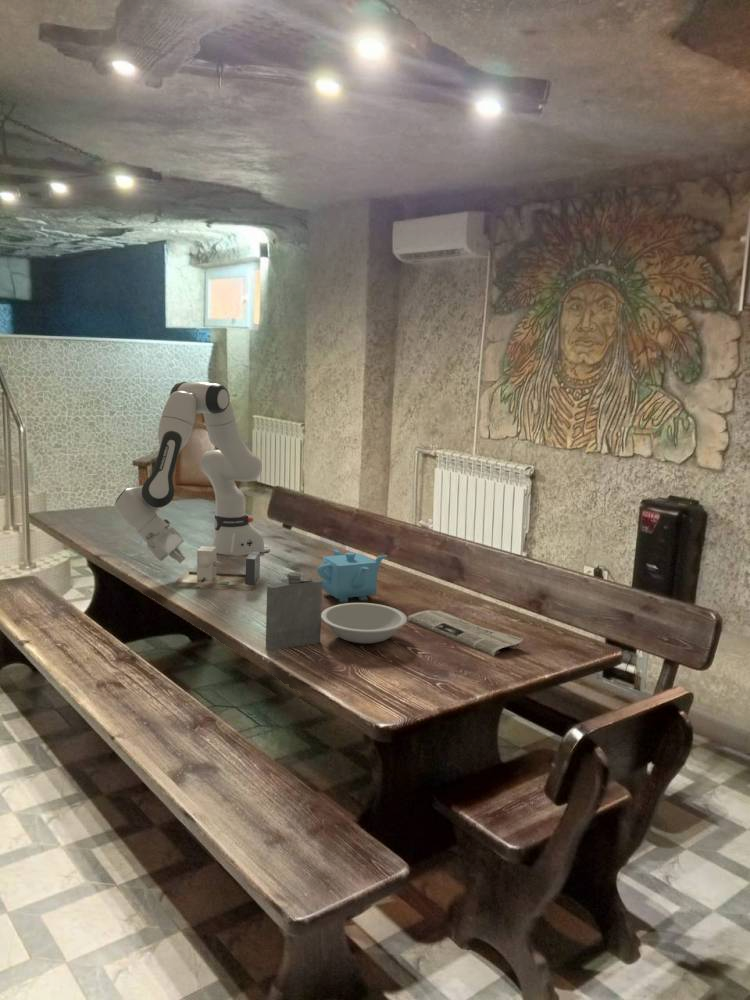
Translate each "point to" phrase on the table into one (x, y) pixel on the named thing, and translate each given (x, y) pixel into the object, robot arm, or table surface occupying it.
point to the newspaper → (464, 631)
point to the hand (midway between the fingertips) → (182, 560)
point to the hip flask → (293, 612)
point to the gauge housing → (206, 563)
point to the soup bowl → (363, 621)
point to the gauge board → (216, 581)
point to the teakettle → (349, 575)
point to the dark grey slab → (252, 568)
